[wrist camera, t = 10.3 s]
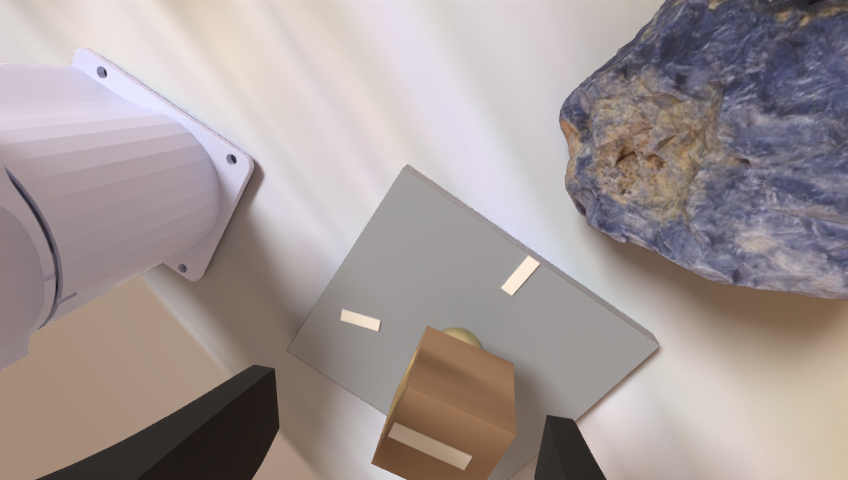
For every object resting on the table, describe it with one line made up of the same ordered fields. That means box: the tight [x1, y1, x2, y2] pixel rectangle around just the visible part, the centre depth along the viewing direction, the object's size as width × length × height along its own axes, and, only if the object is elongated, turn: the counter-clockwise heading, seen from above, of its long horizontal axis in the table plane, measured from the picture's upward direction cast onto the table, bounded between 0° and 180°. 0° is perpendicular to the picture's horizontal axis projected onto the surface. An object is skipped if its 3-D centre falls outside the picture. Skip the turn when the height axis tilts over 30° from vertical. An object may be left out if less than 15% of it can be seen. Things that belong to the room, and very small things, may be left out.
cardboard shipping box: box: [371, 326, 516, 480], centre depth 17 cm, size 4×4×4 cm
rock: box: [559, 0, 848, 300], centre depth 14 cm, size 11×10×10 cm
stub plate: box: [287, 164, 660, 480], centre depth 21 cm, size 14×12×3 cm
